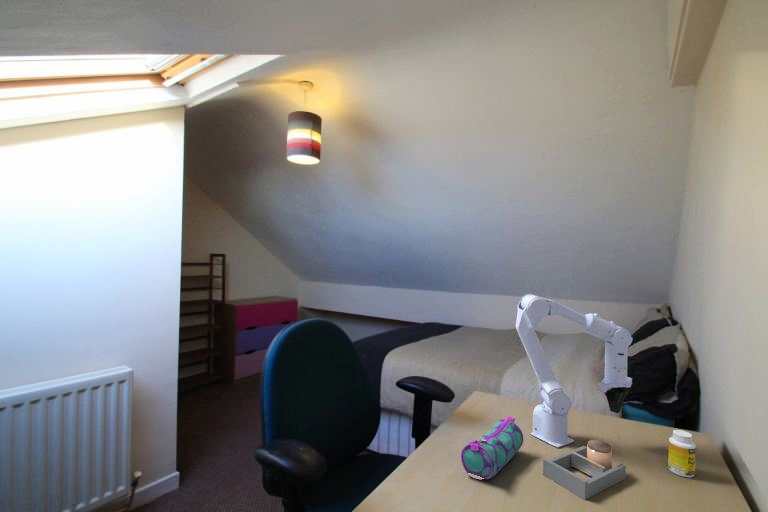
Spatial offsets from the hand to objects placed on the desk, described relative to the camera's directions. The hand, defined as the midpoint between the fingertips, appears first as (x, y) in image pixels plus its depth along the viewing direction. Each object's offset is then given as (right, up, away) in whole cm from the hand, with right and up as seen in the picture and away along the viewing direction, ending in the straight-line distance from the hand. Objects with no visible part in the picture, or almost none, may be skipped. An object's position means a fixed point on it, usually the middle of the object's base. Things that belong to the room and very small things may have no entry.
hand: (614, 411), depth 113 cm
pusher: (-17, -9, -17) cm, 25 cm away
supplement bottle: (+8, -10, -15) cm, 20 cm away
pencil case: (-40, -9, -12) cm, 42 cm away
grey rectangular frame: (-18, -9, -17) cm, 26 cm away
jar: (-13, -9, -15) cm, 22 cm away
